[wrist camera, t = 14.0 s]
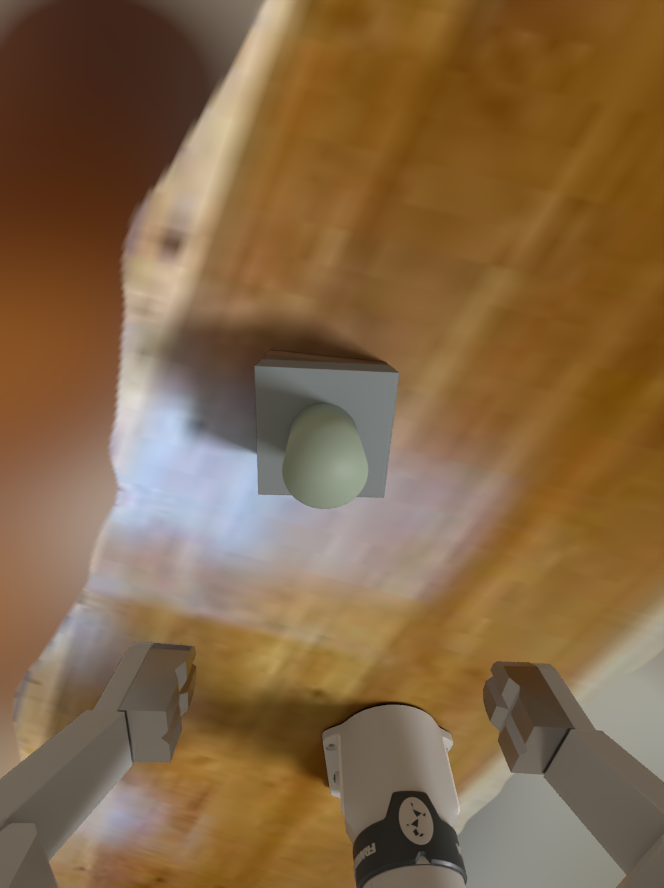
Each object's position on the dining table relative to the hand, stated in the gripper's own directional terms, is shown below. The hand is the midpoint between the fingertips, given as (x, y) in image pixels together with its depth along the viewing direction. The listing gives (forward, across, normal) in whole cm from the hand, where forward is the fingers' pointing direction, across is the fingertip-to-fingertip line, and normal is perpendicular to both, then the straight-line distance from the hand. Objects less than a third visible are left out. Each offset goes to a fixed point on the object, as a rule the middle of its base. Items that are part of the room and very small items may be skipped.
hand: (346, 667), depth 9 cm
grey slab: (+21, 0, 0) cm, 21 cm away
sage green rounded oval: (+18, 0, 0) cm, 18 cm away
